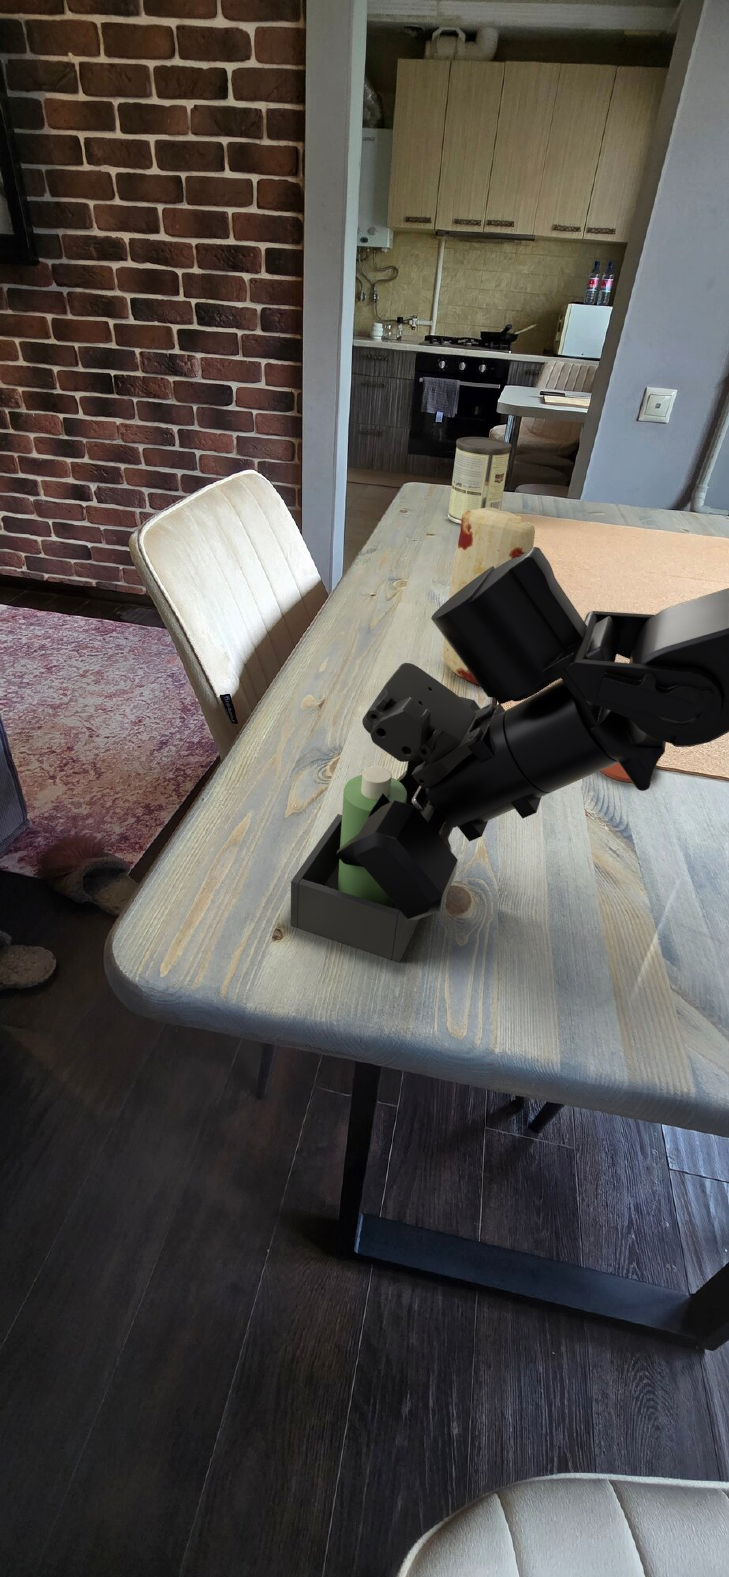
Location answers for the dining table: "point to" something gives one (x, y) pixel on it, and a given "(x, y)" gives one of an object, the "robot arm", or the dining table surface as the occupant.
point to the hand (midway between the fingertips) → (353, 838)
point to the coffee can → (478, 475)
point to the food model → (484, 557)
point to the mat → (616, 773)
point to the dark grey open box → (344, 905)
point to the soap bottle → (355, 813)
